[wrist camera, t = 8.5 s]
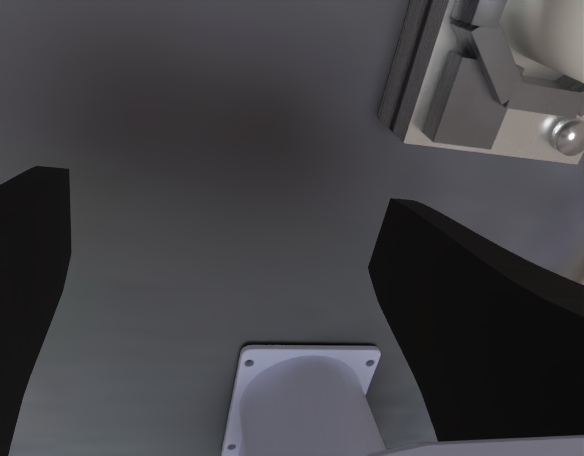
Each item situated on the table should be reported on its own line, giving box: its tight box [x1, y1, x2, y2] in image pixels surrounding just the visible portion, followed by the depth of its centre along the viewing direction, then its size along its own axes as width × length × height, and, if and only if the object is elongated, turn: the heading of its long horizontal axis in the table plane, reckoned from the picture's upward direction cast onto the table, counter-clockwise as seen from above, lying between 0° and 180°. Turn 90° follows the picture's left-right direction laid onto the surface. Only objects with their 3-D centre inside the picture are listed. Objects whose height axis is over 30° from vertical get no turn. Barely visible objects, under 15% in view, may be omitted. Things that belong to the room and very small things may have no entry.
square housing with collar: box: [378, 0, 584, 164], centre depth 18 cm, size 10×8×4 cm
